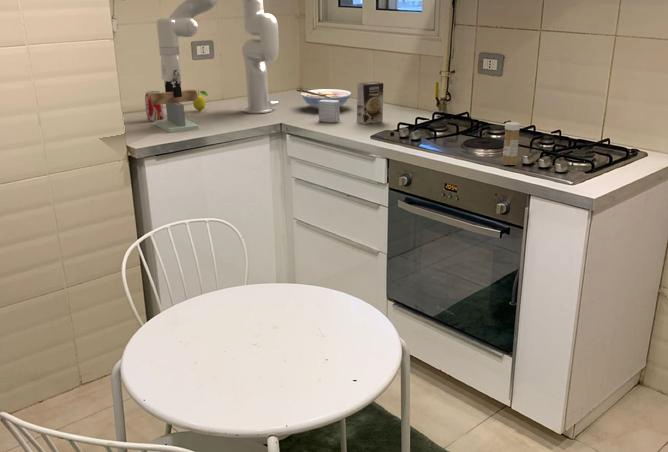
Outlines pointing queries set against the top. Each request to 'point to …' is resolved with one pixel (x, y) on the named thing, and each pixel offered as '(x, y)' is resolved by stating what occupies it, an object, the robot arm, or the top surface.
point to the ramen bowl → (324, 96)
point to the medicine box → (329, 111)
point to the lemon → (200, 101)
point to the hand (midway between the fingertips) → (173, 95)
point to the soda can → (153, 108)
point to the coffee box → (370, 102)
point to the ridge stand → (176, 119)
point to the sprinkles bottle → (511, 142)
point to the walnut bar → (169, 98)
